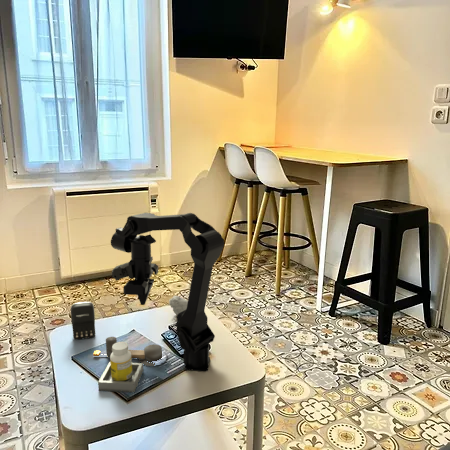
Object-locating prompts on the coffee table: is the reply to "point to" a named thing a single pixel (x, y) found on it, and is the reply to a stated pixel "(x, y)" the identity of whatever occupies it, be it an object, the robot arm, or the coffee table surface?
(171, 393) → the coffee table surface
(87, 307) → the battery charger
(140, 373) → the tray
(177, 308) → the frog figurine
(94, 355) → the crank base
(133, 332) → the coffee table surface
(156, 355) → the crank
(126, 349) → the supplement bottle
